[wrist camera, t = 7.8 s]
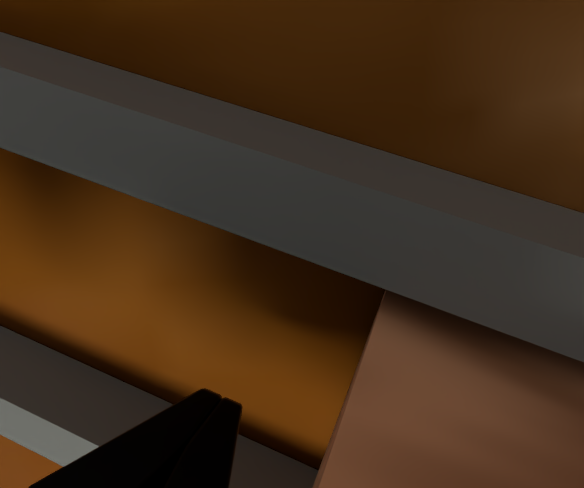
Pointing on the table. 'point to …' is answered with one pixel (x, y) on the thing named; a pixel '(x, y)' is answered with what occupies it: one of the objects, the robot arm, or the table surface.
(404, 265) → the chute
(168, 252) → the table surface
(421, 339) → the block
